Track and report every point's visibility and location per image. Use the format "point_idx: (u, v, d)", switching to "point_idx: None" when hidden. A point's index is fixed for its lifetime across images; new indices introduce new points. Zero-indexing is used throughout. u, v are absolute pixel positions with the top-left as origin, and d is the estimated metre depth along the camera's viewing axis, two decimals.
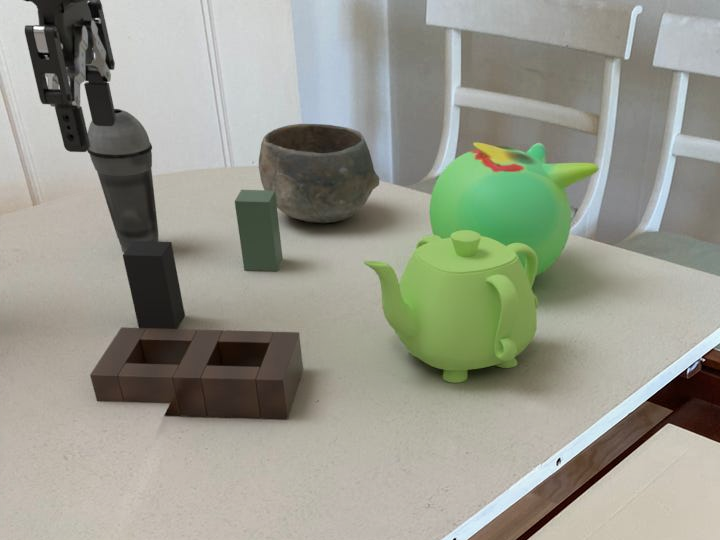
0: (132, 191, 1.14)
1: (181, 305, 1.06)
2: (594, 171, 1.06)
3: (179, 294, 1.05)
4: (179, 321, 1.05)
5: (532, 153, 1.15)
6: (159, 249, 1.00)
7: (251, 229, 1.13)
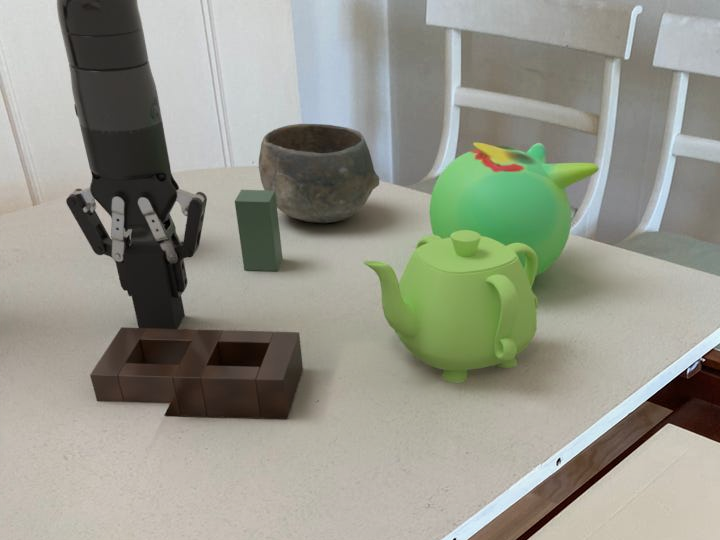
0: None
1: (181, 305, 1.06)
2: (594, 171, 1.06)
3: None
4: (179, 321, 1.05)
5: (532, 153, 1.15)
6: (159, 250, 1.00)
7: (251, 229, 1.13)
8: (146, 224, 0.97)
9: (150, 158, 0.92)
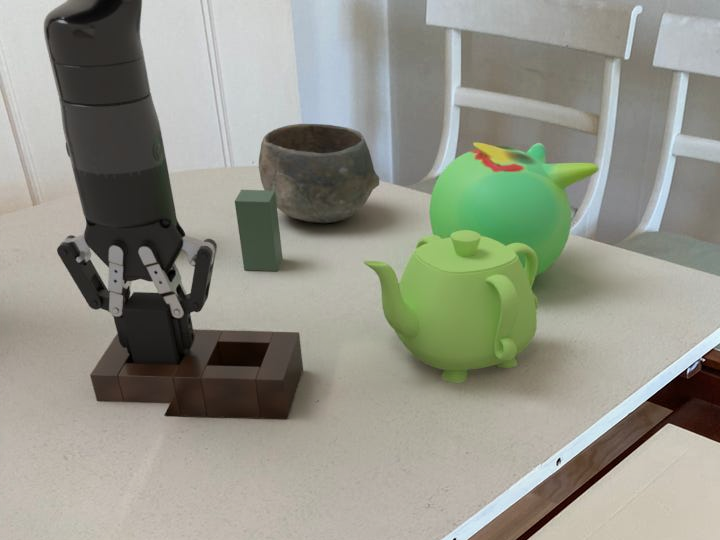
0: None
1: None
2: (594, 171, 1.06)
3: None
4: None
5: (532, 153, 1.15)
6: (163, 303, 0.88)
7: (251, 229, 1.13)
8: (148, 275, 0.86)
9: (153, 203, 0.80)
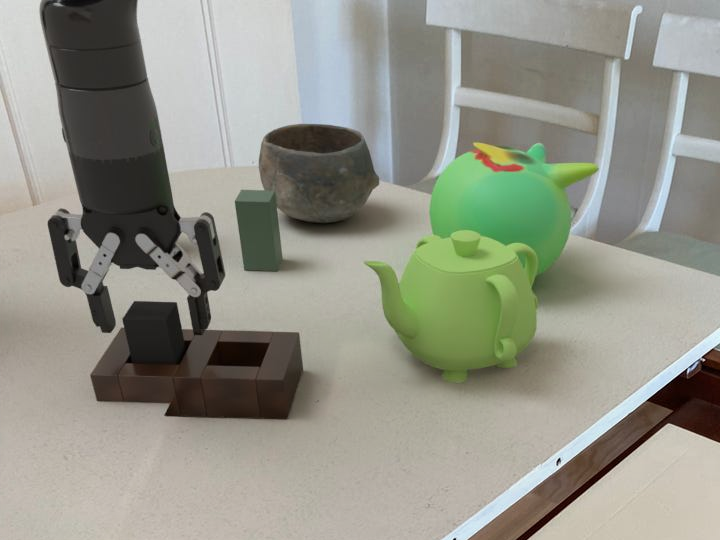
0: None
1: None
2: (594, 171, 1.06)
3: None
4: None
5: (532, 153, 1.15)
6: (164, 312, 0.89)
7: (251, 229, 1.13)
8: (145, 263, 0.85)
9: (150, 189, 0.80)
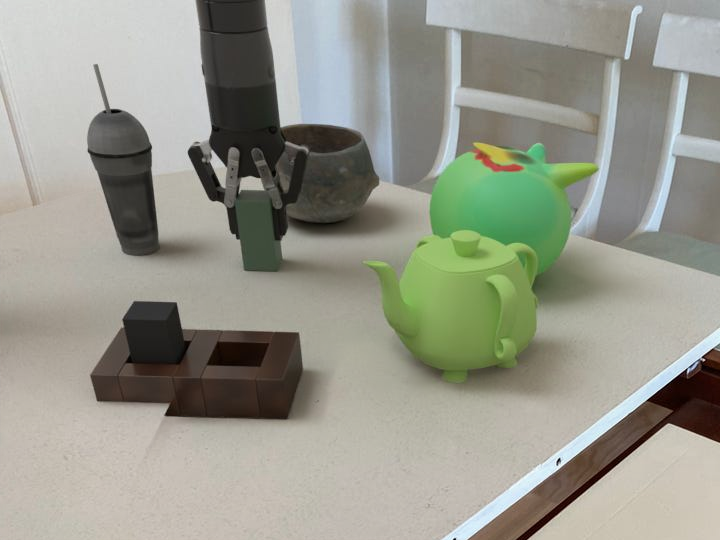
0: (132, 191, 1.14)
1: None
2: (594, 171, 1.06)
3: None
4: None
5: (532, 153, 1.15)
6: (164, 312, 0.89)
7: (251, 229, 1.13)
8: (256, 173, 1.10)
9: (266, 112, 1.05)
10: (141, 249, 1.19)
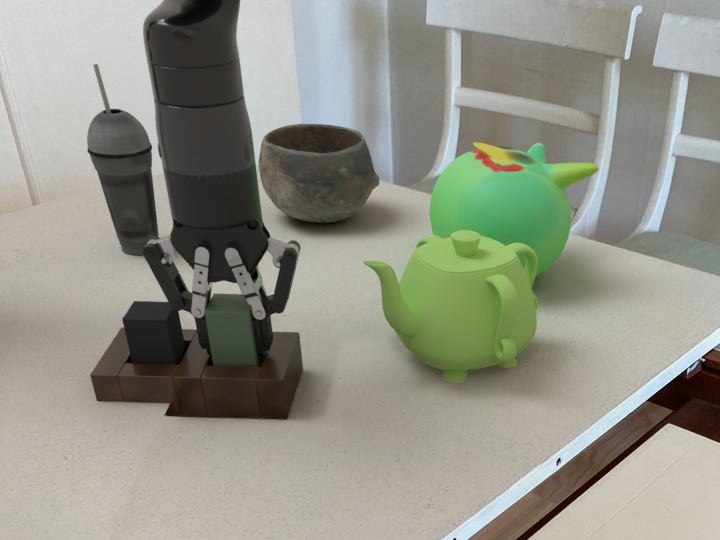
0: (132, 191, 1.14)
1: None
2: (594, 171, 1.06)
3: None
4: None
5: (532, 153, 1.15)
6: (164, 312, 0.89)
7: (226, 344, 0.89)
8: (232, 277, 0.86)
9: (243, 204, 0.80)
10: (141, 249, 1.19)
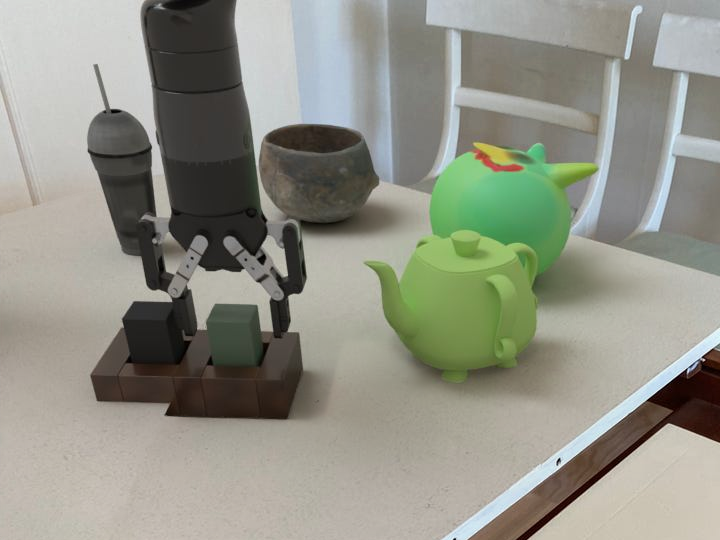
0: (132, 191, 1.14)
1: None
2: (594, 171, 1.06)
3: None
4: None
5: (532, 153, 1.15)
6: (163, 312, 0.89)
7: (227, 354, 0.90)
8: (231, 266, 0.85)
9: (241, 192, 0.80)
10: None
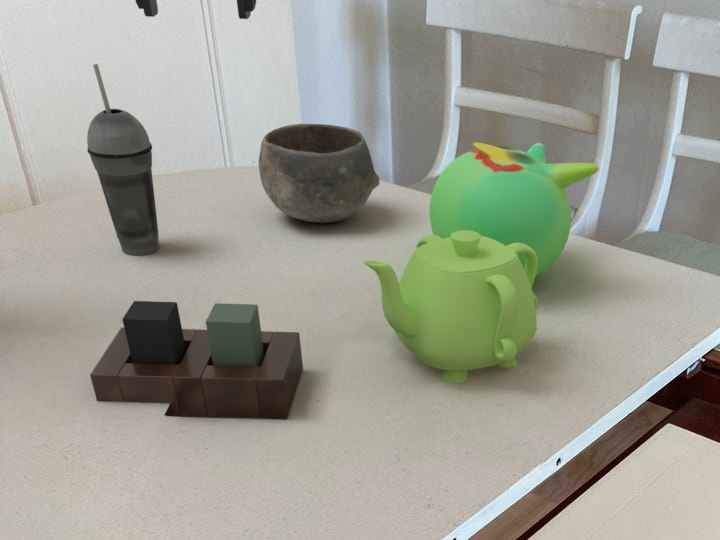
0: (132, 191, 1.14)
1: None
2: (594, 171, 1.06)
3: None
4: None
5: (532, 153, 1.15)
6: (164, 312, 0.89)
7: (227, 354, 0.90)
8: None
9: None
10: (141, 249, 1.19)
